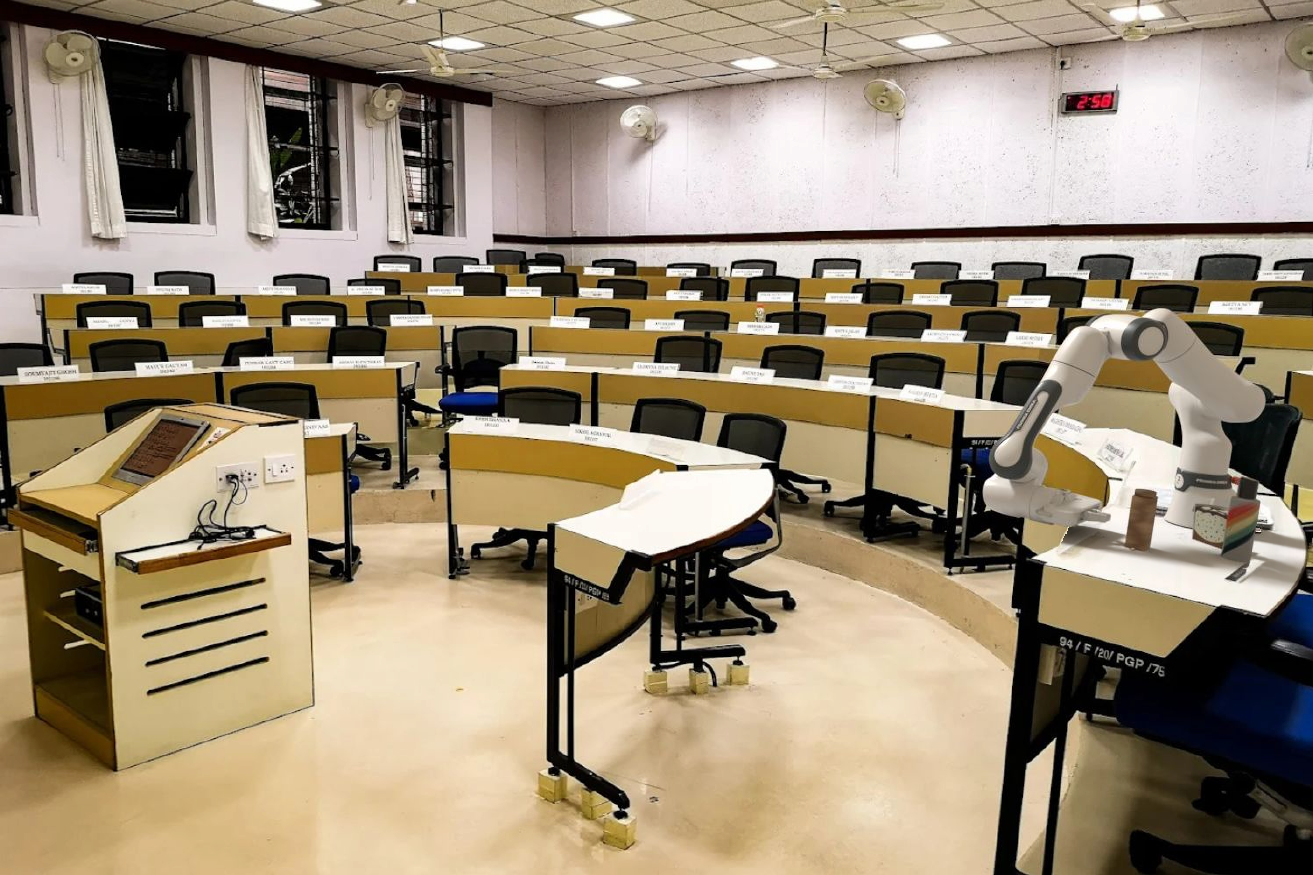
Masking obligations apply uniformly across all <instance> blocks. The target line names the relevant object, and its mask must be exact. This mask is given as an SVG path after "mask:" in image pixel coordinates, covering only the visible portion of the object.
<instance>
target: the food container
mask: <svg viewBox="0 0 1313 875" xmlns="http://www.w3.org/2000/svg"><path fill="white" fill-rule="evenodd" d="M1228 511H1229V508H1227V507H1222V506H1217V505H1210V504H1195V505H1194V506H1193V509H1192V512H1194V519H1193V528H1192V534H1191V539H1192V540H1193V541H1196V542H1199V543H1202V544H1205V545H1209V546H1211V547H1214V548H1215V549H1220V550H1222V546H1223V540H1224V534H1225V529H1226V523H1227V517H1228Z"/></svg>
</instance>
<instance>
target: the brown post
mask: <svg viewBox="0 0 1313 875" xmlns="http://www.w3.org/2000/svg"><path fill="white" fill-rule="evenodd" d="M1157 495H1158V492H1157V491H1155V490H1154V489H1153V490H1152V489H1146V488H1135V489H1134V494H1132V495H1131V502H1130V509H1129V515H1128V522H1127V528H1126V535H1125V540H1124V548H1128V549H1129V550H1130V551H1135V550H1137V551H1142V552H1144V551H1146V550H1148V549H1150V548H1151V545H1152V538H1153V532H1154V526H1155V524H1154V523H1155V519H1156V513H1157V507H1158V499H1159V495H1158V496H1157Z"/></svg>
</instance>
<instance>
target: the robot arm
mask: <svg viewBox="0 0 1313 875" xmlns="http://www.w3.org/2000/svg"><path fill="white" fill-rule="evenodd" d="M1110 358H1111V359H1115V360H1125V361H1131V362H1147V361H1151V360H1153V361H1154V363H1155V364H1156V365H1157V366H1158V368H1159V369H1160V370H1161V371H1162V372H1163V373H1164V374H1165V376H1166V377H1167V378H1168V379H1169V381H1171V383H1170V386H1169V388H1168V400H1169V402H1170V404H1171V405H1172V406H1173V408H1174V409H1175V411H1176V413H1177V415H1178V418H1179V422H1180V425H1181V435H1182V444H1181V450H1180V459H1179V466H1178V467H1177V468H1176V472H1175V476H1174V491H1173V494H1172V498H1171V499H1170V504H1169V506H1168V508H1167V511H1166V513H1165V514H1164V516H1163V519H1164V520H1165V521H1166V522H1169V523H1171V524H1174V525H1177V526H1180V527H1186V528H1191V529H1193V519H1194V512H1192V509H1193V506H1194V505H1195V504H1210V505H1217V506H1222V507H1227V508H1229V505H1230V500H1231V497H1232V496H1237V491H1235V489H1233V484H1234V485H1235V486H1238V482H1239V478H1240V477H1239V476H1235V475H1234V476H1232V475H1231V474H1229V468H1230V461H1231V456H1232V455H1231V454H1232V452H1233V451H1232V450H1233V445H1232V442H1231V440H1230V439H1229V438H1228V436H1227V435H1226V434H1225V432H1224V430H1223V427H1222V422H1226V423H1250V422H1253V421H1255V420H1256V419H1257V418H1259V416H1260V415H1261V414H1262V412H1263V411H1264V409H1265V406H1266V395H1265V392H1264V390H1263V389H1262V387H1260V386H1258V385H1256V384H1254V383H1253V382H1251V381H1249V380H1248V379H1245V378H1244V377H1243V376H1241V375H1240V374H1238V373H1237V372H1236V371H1234V370H1233V369H1232V368H1231V367H1229V366H1228V365H1226V363H1225V362H1222V360H1220V359H1219V358H1218V357H1217V356H1216V355H1214V354H1213V353H1212V352H1211V351H1210V349H1208V348H1207V346H1206V345H1205V344H1204V343H1203V342H1202V341H1201V339H1200V338H1199V337H1198V336H1197V334H1196V333H1195V332H1194V331H1193V329H1192V328H1191V327H1190V326H1189V325H1188V324H1187V322H1185V321H1184V320H1183V319H1182V318H1181V317H1179V315H1177V314H1176V313H1175V312H1174V311H1172V310H1170V309H1168V308H1163V307H1162V308H1158V307H1157V308H1155V309H1154V308H1153V309H1152V310H1149V311H1148V312H1145V314H1143V315H1142V316H1138V315H1133V314H1127V313H1126V314H1119V313H1116V314H1114V313H1102V314H1097V315H1095V316H1092V318H1090V319H1089V320H1088V321H1087V322H1086V323H1085V325H1081V326H1076V327H1075V328H1073V329H1072V330H1071V331H1070V332H1069V333H1068V335H1067V336H1066V337H1065V339H1063V342H1062V344H1060V345H1059V347H1058V349H1057V351H1056V353H1055V354H1054V356H1053V358H1052V360H1051V362H1050V364H1049V366H1048V368H1047V370H1046V371H1045V373H1044V375H1043V377H1042V378H1041V380H1040V382H1039V383H1038V385H1037V386H1036V387H1035V388H1034V390H1033V391H1032V393H1031V394H1030V396H1029V398H1028V399H1027V401H1026V402H1025V404H1024V406H1023V407H1022V409H1021V410H1020V412H1019V413H1018V415H1017V417H1016V418H1015V420H1014V421H1013V424H1012V425H1011V426H1010V428H1009V429H1008V431H1007V432H1006V433H1005V434H1004V435H1003V436H1002V437H1001V438H999V439H998V440H997V441H996V442H995V443H994V444H993V445H992V447H991V449H990V451H989V456H988V462H989V465H990V469H991V470H992V472H993V473H994V474H993V475H991V477H989V478H987V479H986V480H985V481H984V484H983V486H982V499H983V502H984V504H985V505H986V506H987V508H988V509H990V510H992V511H994V512H997V513H1000V514H1002V515H1006V516H1010V517H1014V518H1015V517H1016V518H1026V519H1028V520H1029V521H1032V522H1036V523H1039V524H1040V523H1041V524H1045V525H1049V526H1054V525H1058V526H1060V527H1061V526H1062V527H1064V528H1065V527H1067V528H1072V527H1076V526H1078V525H1080V524H1083V523H1085V522H1095V523H1097V522H1098V523H1103V524H1105V523H1107V522H1110V521H1111V518H1112V515H1111V514H1110V512H1109V513H1107V512H1103V502H1102V500H1099V499H1097V498H1094V497H1091V496H1090V497H1089V496H1088V495H1087V496H1086V495H1083V494H1079V493H1074V492H1073V493H1072V492H1071V490H1070V489H1065V488H1055V487H1047V486H1043V484H1044V481H1045V480H1046V476H1047V474H1048V471H1049V461H1048V460H1049V459H1048V458H1047V456H1046V455H1045V454H1044V453H1043V451H1042V450H1039V449H1038V448H1036V447H1034V445H1035V442H1036V440H1037V438H1038V436H1039V435H1040V434H1041V432H1042V430H1043V429H1044V427H1045V426H1046V424H1047V422H1048V421H1049V419H1050V417H1051V416H1052V415H1053V413H1055V412H1056V411H1058V410H1059V409H1061V408H1064V407H1069V406H1073V405H1076V404H1078V403H1081V402H1082V401H1083V400H1084V398H1085V397H1086V396H1087V395H1088V393H1090V391H1091V390H1092V387H1093V386H1094V384H1095V382H1096V380H1097V378H1098V376H1099V374H1100V372H1101V370H1102V367H1103V365H1104V363H1105V362H1106V361H1107V360H1109V359H1110ZM1260 530H1262V531H1263V528H1262V529H1260V528H1256V531H1260Z"/></svg>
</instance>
